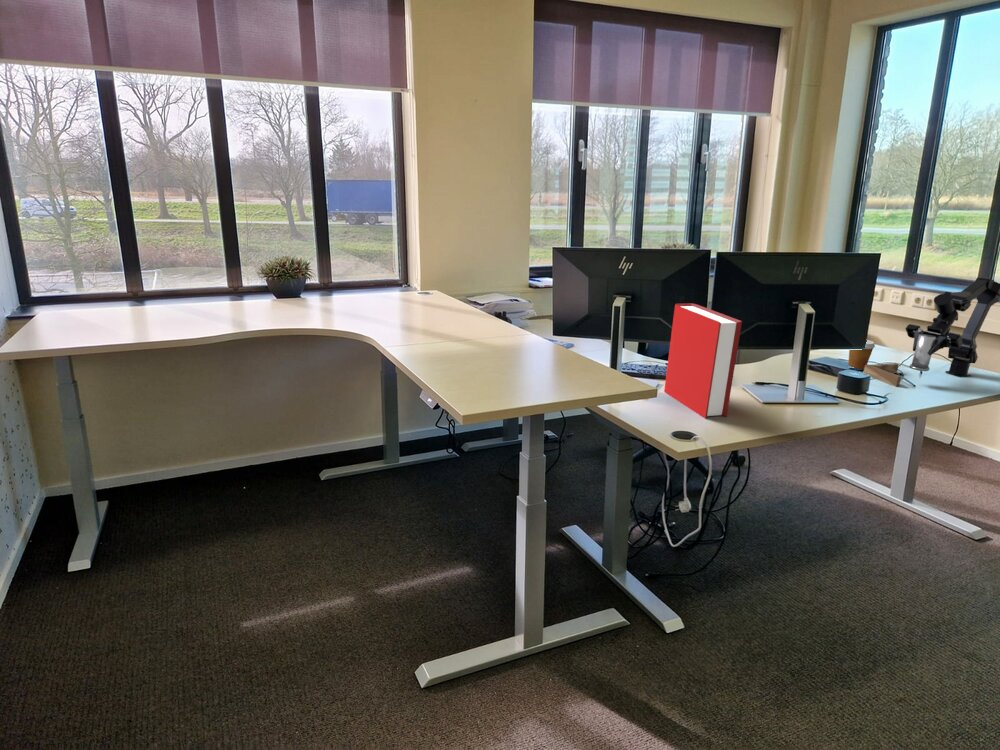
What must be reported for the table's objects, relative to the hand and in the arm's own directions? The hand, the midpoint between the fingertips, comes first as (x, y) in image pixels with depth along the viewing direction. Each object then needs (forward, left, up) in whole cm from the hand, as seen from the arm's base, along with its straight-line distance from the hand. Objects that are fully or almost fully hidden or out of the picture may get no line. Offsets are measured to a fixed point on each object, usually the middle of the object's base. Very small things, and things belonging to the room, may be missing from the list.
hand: (921, 352), depth 240 cm
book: (+98, -1, -14) cm, 99 cm away
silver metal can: (-1, 0, -7) cm, 7 cm away
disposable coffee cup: (+4, -23, -14) cm, 27 cm away
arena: (0, -8, -13) cm, 16 cm away
